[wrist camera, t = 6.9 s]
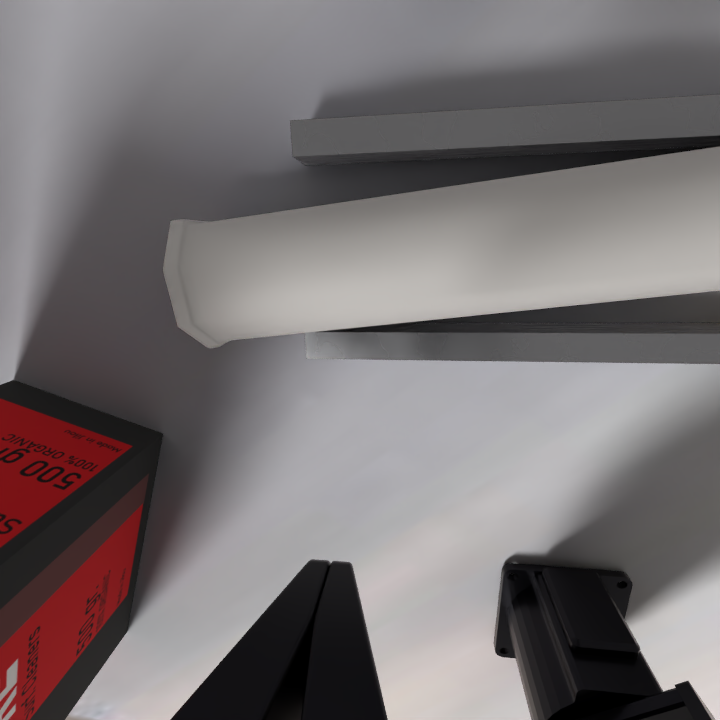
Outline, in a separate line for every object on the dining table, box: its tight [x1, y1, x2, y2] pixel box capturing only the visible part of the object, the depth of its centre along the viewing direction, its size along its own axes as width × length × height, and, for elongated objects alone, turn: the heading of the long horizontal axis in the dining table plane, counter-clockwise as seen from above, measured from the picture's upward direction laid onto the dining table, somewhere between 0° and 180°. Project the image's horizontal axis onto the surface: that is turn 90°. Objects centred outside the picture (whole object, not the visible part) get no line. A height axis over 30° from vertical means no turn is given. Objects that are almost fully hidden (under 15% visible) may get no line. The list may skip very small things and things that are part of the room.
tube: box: [163, 146, 720, 348], centre depth 15 cm, size 5×5×25 cm
